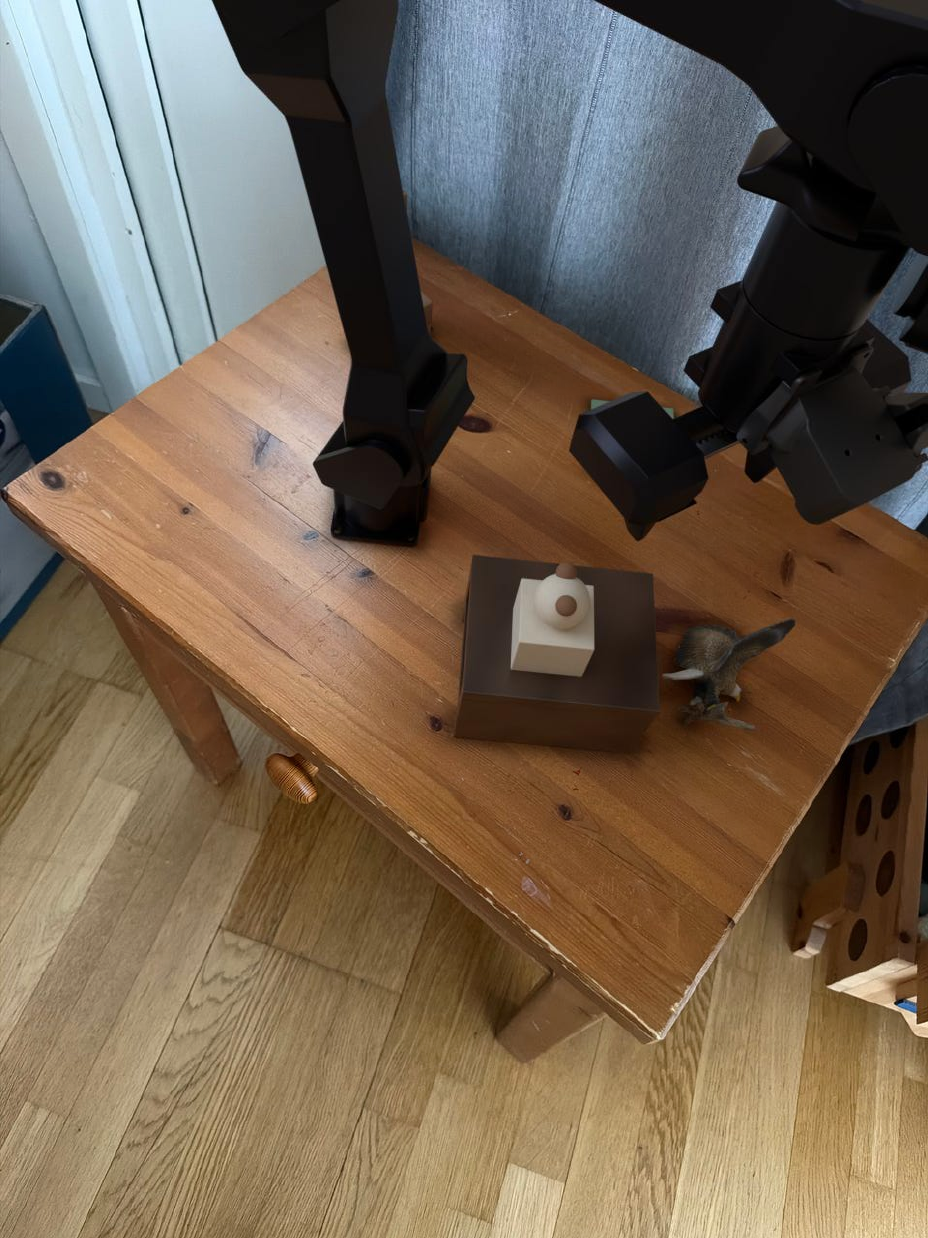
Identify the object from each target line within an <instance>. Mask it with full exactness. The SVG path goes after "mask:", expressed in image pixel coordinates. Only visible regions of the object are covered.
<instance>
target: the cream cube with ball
mask: <svg viewBox="0 0 928 1238" xmlns="http://www.w3.org/2000/svg"><path fill="white" fill-rule="evenodd" d="M559 564H560V565H559V566H558V567H557V569H556V574H553V575H551V576H549V577H547V578H546V579H544V580H543V581H542V580H532V579H521V583H520V586H519V590H518V593H517V597H516V601H515V604H514V608H513V626H512V650H511V670H518V671H528V672H539V673H549V674H559V675H569V676H579V677H582V675H583V673H584V671H585V668H586V666H587V664H588V662H589V660H590V658H591V656H592V653H593V651H594V586H590V585H585V584H584V583H583V582H582V581H581V580H580V579H578V578H577V577H576V576H577V570H576V567H575V566H574V564H573V563H571V562H569V561H565V562H561V563H559Z"/></svg>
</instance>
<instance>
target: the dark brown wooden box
mask: <svg viewBox="0 0 928 1238" xmlns="http://www.w3.org/2000/svg"><path fill="white" fill-rule="evenodd" d="M560 564H561V563H556V562H546V561H537V560H528V559H519V558H508V557H501V556H500V557H499V556H491V555H483V554H482V555H480V554H472V557H471V562H470V568H469V572H468V573H469V574H468V579H467V584H466V590H465V595H464V596H465V597H464V600H463V605H462V617H461V623H463V625H462V627H463V628H462V637H461V638H462V640H461V652H460V654H461V655H460V666H459V667H460V668H459V679H458V691H457V692H458V694H457V708H456V713H455V717H454V721H453V723H454V724H453V735H452V736H453V737H454V738H463V739H474V740H484V741H494V742H505V743H506V742H507V743H516V744H526V745H535V746H536V745H537V746H548V747H555V748H556V747H557V748H566V749H567V748H568V749H579V750H588V751H598V752H608V753H609V752H610V753H620V754H632V752H633V751H634V749H635V748H636V747H637V745H638V744H639V742H640V741H641V740H642V738H643V737H644V735H645V734H646V732H647V731H648V729H649V728H650V726H651V725H652V724H653V722H654V721H655V719H656V718H657V716H658V715H659V714H660V712H661V706H660V705H661V704H660V683H659V667H658V666H659V665H658V645H657V626H656V625H657V624H656V607H655V606H656V605H655V585H654V574H653V573H650V572H641V571H631V570H623V569H622V570H621V569H614V568H604V567H595V566H584V565H574V564H573V565H574V566H575V567H576V570H577V576H576V577H577V578H578V579H580V580H581V581H582V582H583V583H584V584H585V585H590V586H594V651H593V653H592V656H591V658H590V660H589V662H588V664H587V666H586V668H585V671H584V673H583V675H582V677H579V676H569V675H559V674H549V673H539V672H528V671H518V670H511V650H512V626H513V608H514V604H515V601H516V597H517V593H518V590H519V586H520V583H521V579H532V580H542V581H543V580H544V579H546V578H547V577H549V576H551V575H553V574H556V569H557V567H558V566H559V565H560Z"/></svg>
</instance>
